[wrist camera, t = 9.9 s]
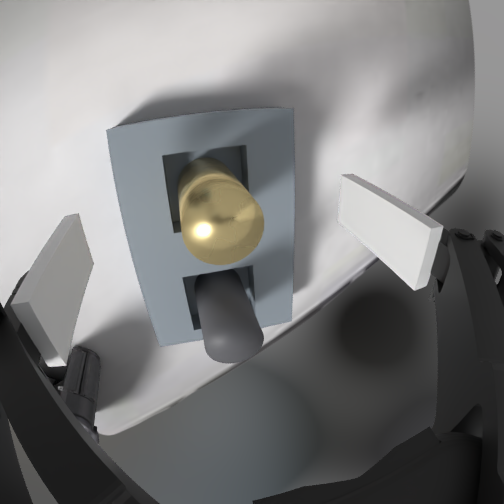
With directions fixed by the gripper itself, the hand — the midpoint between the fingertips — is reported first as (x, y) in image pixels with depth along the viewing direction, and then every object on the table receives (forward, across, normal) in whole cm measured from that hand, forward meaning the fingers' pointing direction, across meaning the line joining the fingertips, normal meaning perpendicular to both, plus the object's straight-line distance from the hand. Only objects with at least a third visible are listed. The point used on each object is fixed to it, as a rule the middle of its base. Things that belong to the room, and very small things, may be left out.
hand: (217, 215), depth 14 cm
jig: (+9, 0, -5) cm, 10 cm away
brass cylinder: (+8, 0, -1) cm, 8 cm away
